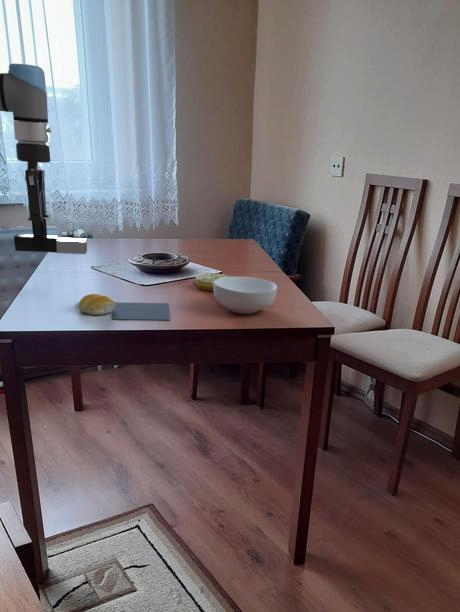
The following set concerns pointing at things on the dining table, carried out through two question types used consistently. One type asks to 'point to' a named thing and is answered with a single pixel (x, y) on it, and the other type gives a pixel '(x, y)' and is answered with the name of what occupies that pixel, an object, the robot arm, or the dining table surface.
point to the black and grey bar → (51, 244)
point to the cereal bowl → (244, 293)
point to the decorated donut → (207, 280)
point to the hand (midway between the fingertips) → (41, 246)
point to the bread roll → (96, 304)
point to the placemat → (141, 311)
